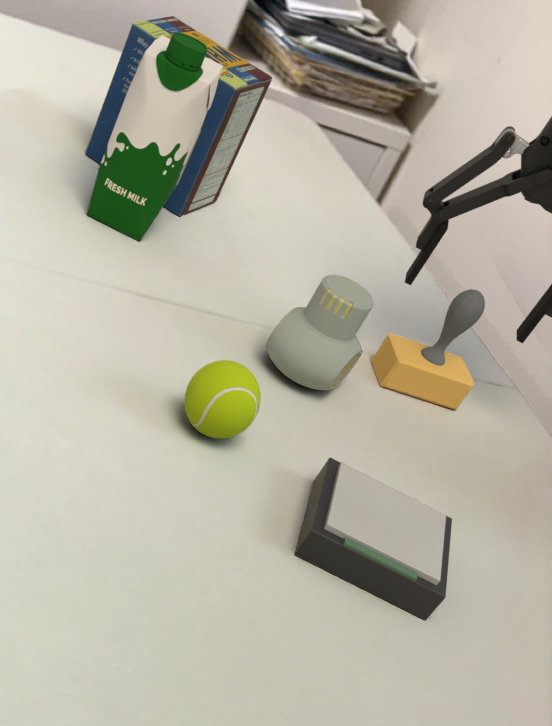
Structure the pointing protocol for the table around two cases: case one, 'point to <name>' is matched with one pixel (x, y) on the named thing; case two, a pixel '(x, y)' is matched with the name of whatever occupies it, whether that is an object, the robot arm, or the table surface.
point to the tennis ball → (222, 399)
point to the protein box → (221, 124)
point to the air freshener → (322, 334)
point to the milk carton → (154, 133)
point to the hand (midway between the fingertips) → (463, 308)
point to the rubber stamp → (431, 358)
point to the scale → (377, 538)
